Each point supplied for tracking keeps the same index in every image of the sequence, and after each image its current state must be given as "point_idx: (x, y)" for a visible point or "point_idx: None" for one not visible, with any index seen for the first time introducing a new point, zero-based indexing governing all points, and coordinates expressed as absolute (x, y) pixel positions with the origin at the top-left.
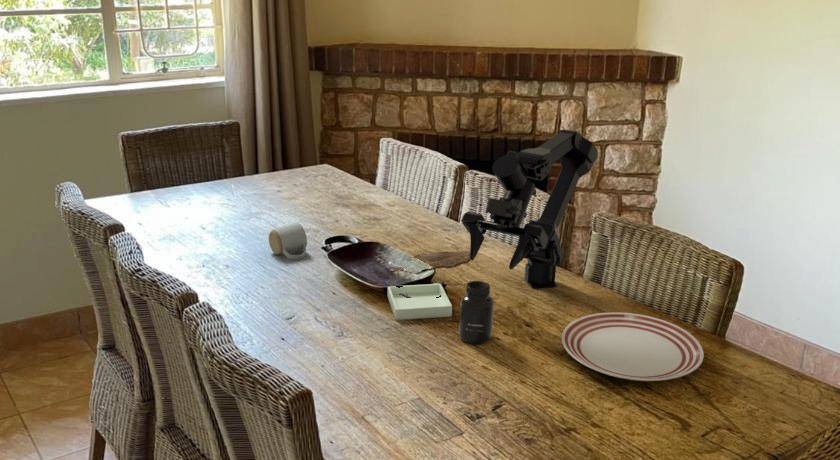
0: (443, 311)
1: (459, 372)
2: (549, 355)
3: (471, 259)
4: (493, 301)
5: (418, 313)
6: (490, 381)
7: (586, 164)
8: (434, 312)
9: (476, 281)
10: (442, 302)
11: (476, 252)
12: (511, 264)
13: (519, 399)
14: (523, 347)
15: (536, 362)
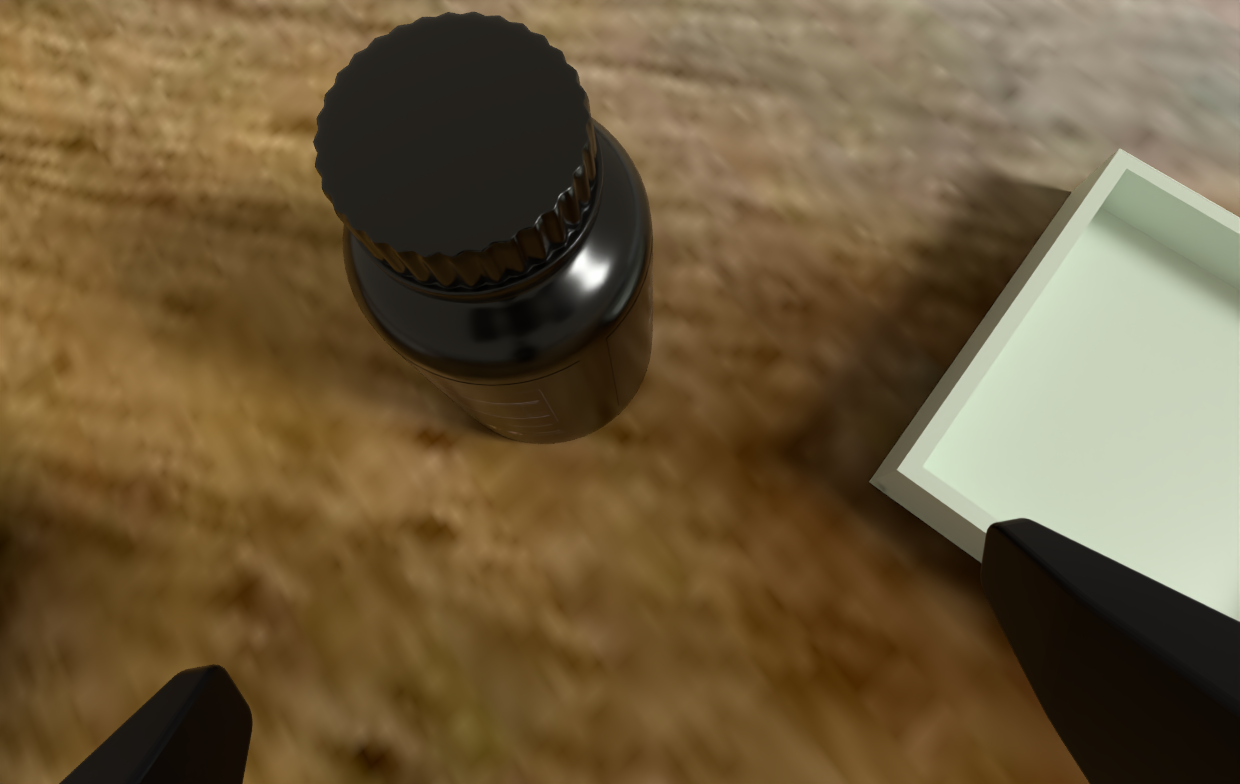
0: (918, 425)
1: (384, 13)
2: (62, 475)
3: (989, 534)
4: (372, 323)
5: (1013, 285)
6: (215, 47)
7: None
8: (953, 375)
9: (533, 191)
10: None
11: (1105, 761)
12: (144, 713)
13: (28, 20)
14: (241, 451)
15: (96, 351)
